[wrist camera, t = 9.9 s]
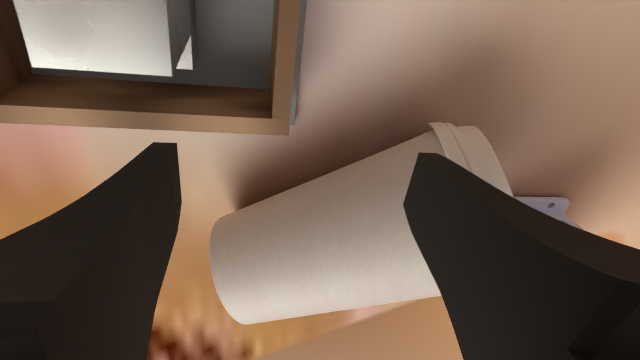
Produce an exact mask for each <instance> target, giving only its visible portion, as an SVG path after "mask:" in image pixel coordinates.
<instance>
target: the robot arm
mask: <svg viewBox="0 0 640 360" xmlns="http://www.w3.org/2000/svg"><path fill="white" fill-rule="evenodd" d="M181 203H182V200H181V188H180V176H179V164H178V152H177V143H159V142H153V143H152V144H151V145H149V146H148V147H147V148H146V149H145V150H143V151H142V152H141V153H140V154H139V155H137V156H136V157H135V158H134V159H133V160H131V161H130V162H129V163H128V164H126V165H125V166H124V167H123V168H121V169H120V170H119V171H118V172H116V173H115V174H114V175H113V176H111V177H110V178H108V179H107V180H106V181H104V182H103V183H101V184H100V185H99V186H97V187H96V188H94V189H93V190H91V191H90V192H89V193H87V194H86V195H84V196H83V197H81V198H80V199H78V200H76V201H75V202H73V203H71V204H70V205H68V206H66V207H65V208H63V209H61V210H59V211H58V212H56V213H54V214H52V215H50V216H49V217H47V218H45V219H43V220H41V221H39V222H37V223H34V224H32V225H30V226H28V227H26V228H24V229H22V230H20V231H18V232H16V233H13V234H11V235H9V236H7V237H5V238H3V239H0V360H146V359H147V353H148V346H149V341H150V335H151V329H152V324H153V318H154V313H155V308H156V304H157V300H158V296H159V293H160V289H161V286H162V283H163V279H164V276H165V272H166V269H167V266H168V262H169V259H170V255H171V252H172V249H173V245H174V242H175V238H176V235H177V231H178V224H179V218H180V210H181ZM569 204H570V201H569V200H567V199H566V198H564V197H512V196H510V195H508V194H506V193H505V192H503V191H501V190H499V189H498V188H496V187H494V186H493V185H491V184H489V183H488V182H486V181H484V180H483V179H481V178H480V177H478V176H476V175H475V174H473V173H471V172H470V171H468V170H467V169H465V168H463V167H462V166H460V165H458V164H457V163H455V162H453V161H452V160H450V159H448V158H446V157H444V156H442V155H440V154H438V153H422V152H419V153H418V156H417V160H416V163H415V166H414V170H413V173H412V176H411V180H410V183H409V186H408V189H407V193H406V196H405V199H404V203H403V207H404V210H405V214H406V217H407V221H408V224H409V227H410V230H411V232H412V234H413V237H414V239H415V241H416V243H417V245H418V247H419V249H420V251H421V254H422V256H423V258H424V260H425V262H426V264H427V266H428V268H429V270H430V272H431V274H432V276H433V278H434V280H435V282H436V284H437V286H438V288H439V291H440V293H441V295H442V298H443V300H444V302H445V305H446V308H447V311H448V314H449V317H450V319H451V322H452V325H453V328H454V331H455V334H456V337H457V340H458V343H459V347H460V350H461V353H462V356H463V359H464V360H640V250H639V249H636V248H633V247H630V246H627V245H623V244H620V243H617V242H614V241H611V240H608V239H605V238H603V237H600V236H597V235H595V234H592V233H589V232H587V231H584V230H583V229H582V228H581V227H580V226H579V225H578V224H577V223H576V222H575V221H574V220H573V219H572V218H571V217H570V216H569V215H568V214H567V213H566V212H565V211H566V210H567V208H568V206H569Z"/></svg>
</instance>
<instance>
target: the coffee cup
mask: <svg viewBox="0 0 640 360" xmlns="http://www.w3.org/2000/svg"><path fill="white" fill-rule="evenodd" d="M419 152H422V153H438V154H440V155H442V156H444V157H446V158H448V159H450V160H452V161H453V162H455V163H457V164H458V165H460V166H462V167H463V168H465V169H467V170H468V171H470V172H471V173H473V174H475V175H476V176H478V177H480V178H481V179H483V180H484V181H486V182H488V183H489V184H491V185H493V186H494V187H496V188H498V189H499V190H501V191H503V192H505V193H506V194H508V195H510V196H512V197H513V194H512V191H511V188H510V186H509V183H508V180H507V178H506V175H505V173H504V171H503V168H502V166H501V164H500V162H499V160H498V158H497V156H496V154H495V152H494V150H493V148H492V146H491V145H490V143H489V141H488V140H487V138H486V137H485V136H484V134H483V133H482V132H481V131H480V130H479V129H478V128H477V127H475V126H458V127H455V126H454V125H453V124H451V123H442V122H433V123H428V124H427V132H426V133H424V134H422V135H419V136H417V137H415V138H412V139H410V140H407V141H405V142H403V143H400V144H398V145H396V146H393V147H391V148H388V149H386V150H384V151H381V152H379V153H376V154H374V155H372V156H369V157H367V158H364V159H362V160H360V161H357V162H355V163H352V164H350V165H347V166H345V167H343V168H340V169H338V170H335V171H333V172H330V173H328V174H326V175H323V176H321V177H318V178H316V179H313V180H311V181H308V182H306V183H304V184H301V185H299V186H296V187H294V188H291V189H289V190H286V191H284V192H282V193H279V194H277V195H274V196H272V197H269V198H267V199H264V200H262V201H259V202H257V203H255V204H252V205H250V206H247V207H245V208H242V209H240V210H237V211H235V212H233V213H230V214H228V215H225V216H223V217H221V218H219V219H218V220H217V222H216V223H215V225H214V227H213V229H212V232H211V237H210V245H209V257H210V266H211V272H212V277H213V281H214V284H215V287H216V290H217V293H218V295H219V298H220V300H221V302H222V304H223V306H224V307H225V309H226V310H227V312H228V313H229V314H230V316H231V317H232V318H233V319H235V320H236V321H237V322H239V323H241V324H254V323H260V322H267V321H274V320H280V319H287V318H293V317H300V316H307V315H313V314H320V313H327V312H333V311H340V310H347V309H353V308H360V307H367V306H373V305H380V304H387V303H394V302H400V301H407V300H414V299H421V298H428V297H435V296H442V295H441V293H440V291H439V288H438V286H437V284H436V282H435V280H434V278H433V276H432V274H431V272H430V270H429V268H428V266H427V264H426V262H425V260H424V258H423V256H422V254H421V251H420V249H419V247H418V245H417V243H416V241H415V239H414V237H413V234H412V232H411V230H410V227H409V224H408V221H407V217H406V214H405V210H404V207H403V203H404V199H405V196H406V193H407V189H408V186H409V183H410V180H411V176H412V173H413V170H414V166H415V163H416V160H417V156H418V153H419Z"/></svg>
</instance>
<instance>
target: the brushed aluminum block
mask: <svg viewBox="0 0 640 360" xmlns="http://www.w3.org/2000/svg"><path fill="white" fill-rule="evenodd" d="M13 1H14V4H15V8H16V11H17V15H18V18H19V22H20V26H21V29H22V33H23V36H24V40H25V44H26V47H27V51H28V54H29V58H30V62H31V65H32V67H39V68H54V69H69V70H83V71H98V72H112V73H127V74H142V75H156V76H171V77H172V76H173V74H174V71H175V69H190V70H193V67H194V64H195V61H196V58H197V35H196V13H195V0H13Z"/></svg>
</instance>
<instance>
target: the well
mask: <svg viewBox="0 0 640 360" xmlns="http://www.w3.org/2000/svg"><path fill="white" fill-rule="evenodd" d="M300 4H301V0H274V9H273V27H272V44H271V61H270V79H269V89H254V88H239V87H224V86H208V85H193V84H178V83H162V82H147V81H132V80H116V79H101V78H86V77H71V76H55V75H40V74H32V71H31V67H30V63H29V60H28V56H27V53H26V49H25V46H24V42H23V38H22V35H21V31H20V28H19V24H18V21H17V17H16V13H15V10H14V6H13V3H12V0H0V123H14V124H37V125H60V126H83V127H106V128H128V129H151V130H174V131H197V132H220V133H243V134H266V135H288V134H289V123H290V112H291V101H292V90H293V80H294V69H295V58H296V47H297V36H298V25H299V15H300Z"/></svg>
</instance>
